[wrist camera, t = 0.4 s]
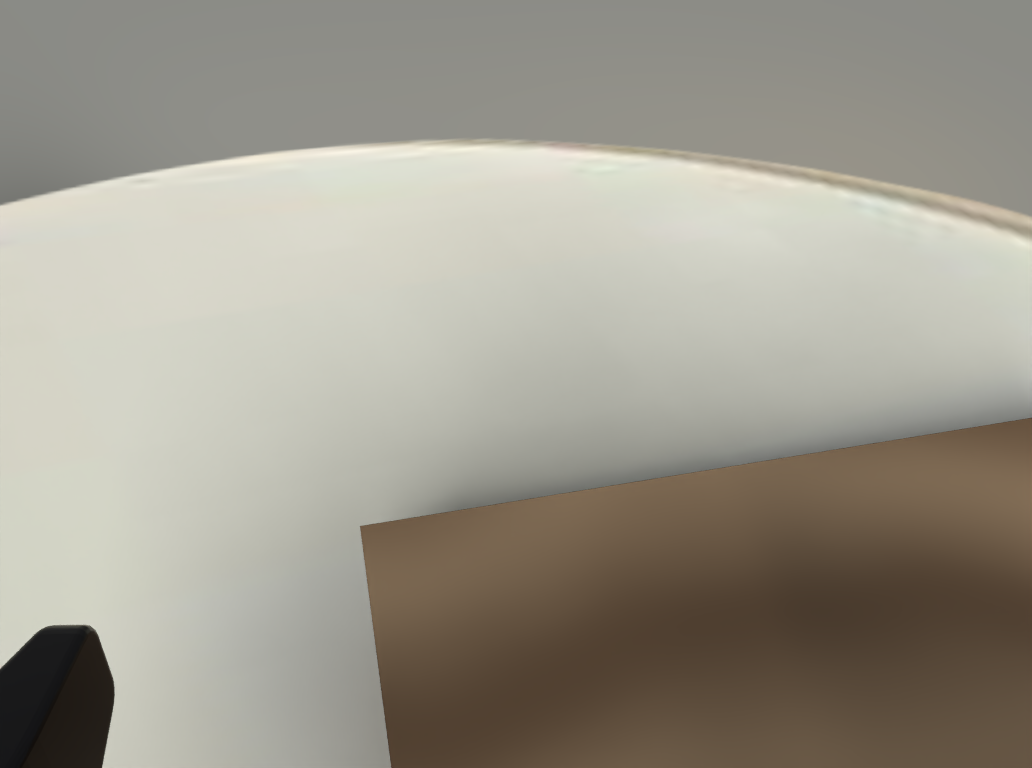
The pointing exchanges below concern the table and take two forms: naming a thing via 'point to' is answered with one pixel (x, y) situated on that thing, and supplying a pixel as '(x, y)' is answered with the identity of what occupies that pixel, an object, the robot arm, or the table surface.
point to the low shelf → (723, 617)
